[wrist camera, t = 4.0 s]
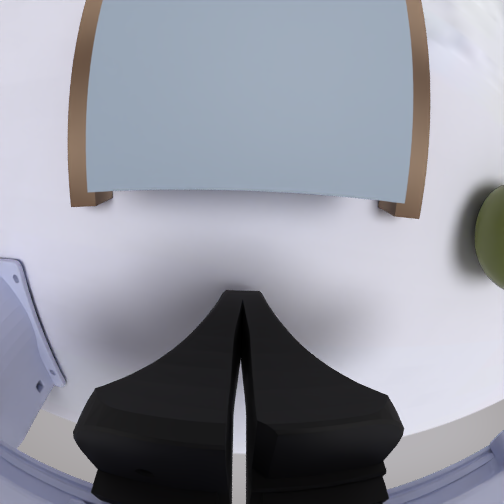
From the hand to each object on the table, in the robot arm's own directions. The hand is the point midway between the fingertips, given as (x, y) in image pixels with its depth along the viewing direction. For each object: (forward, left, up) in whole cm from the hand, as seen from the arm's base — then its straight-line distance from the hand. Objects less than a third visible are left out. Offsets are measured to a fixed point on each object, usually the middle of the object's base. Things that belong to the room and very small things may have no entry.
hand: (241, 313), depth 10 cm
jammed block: (+8, 0, -2) cm, 8 cm away
